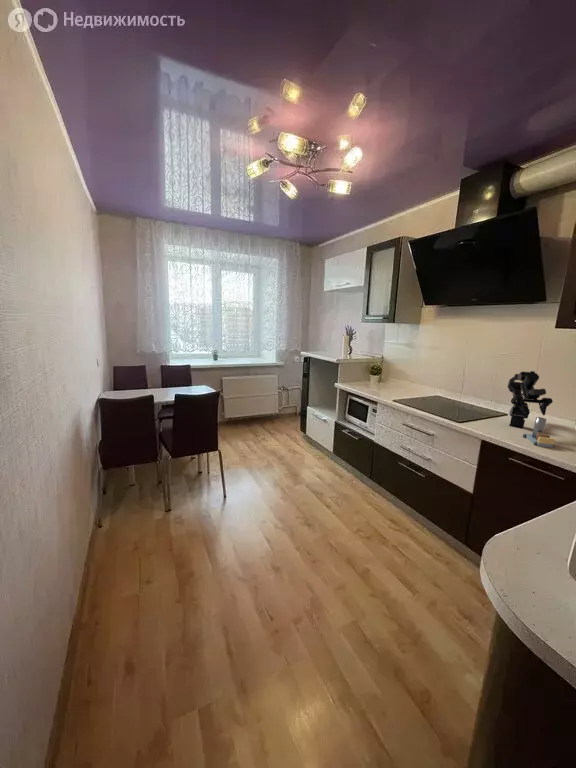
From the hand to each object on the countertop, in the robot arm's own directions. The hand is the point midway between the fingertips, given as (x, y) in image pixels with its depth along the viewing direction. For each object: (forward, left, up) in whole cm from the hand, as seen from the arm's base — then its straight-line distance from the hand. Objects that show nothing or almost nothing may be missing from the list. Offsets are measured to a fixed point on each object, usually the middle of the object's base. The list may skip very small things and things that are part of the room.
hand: (534, 414), depth 175 cm
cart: (+4, -7, -13) cm, 15 cm away
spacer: (+3, -6, -11) cm, 13 cm away
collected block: (+6, -10, -11) cm, 16 cm away
